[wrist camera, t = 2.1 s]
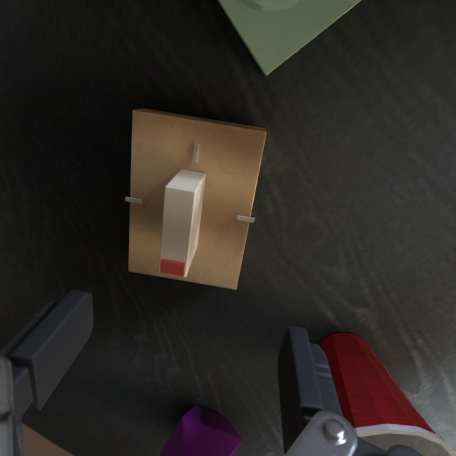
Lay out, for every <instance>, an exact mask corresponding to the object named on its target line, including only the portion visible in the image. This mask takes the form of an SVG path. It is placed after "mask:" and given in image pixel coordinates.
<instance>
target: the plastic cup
mask: <svg viewBox="0 0 456 456" xmlns="http://www.w3.org/2000/svg"><path fill="white" fill-rule="evenodd" d="M318 345H319V346H320V347H321V349H322V350H323V351H324V353H325V354H326V356H327V360H328V364H329V369H330V371H331V375H332V378H333V382H334V386H335V389H336V393H337V397H338V401H339V404H340V408H341V412H342V415H343V417H344V418H345V419H346V420H347V421H348V422H349V423H350V424H351V425H352V427H353V428H354V430H355V432H356V435H358V436H359V437H360V438H362V439H363V440H365V441H367V442H369V443H371V444H373V445H375V446H377V447H379V448H381V449H383V450H385V451H387V452H388V450H389V449H390V447H392V446H394V445H405V446H408V447H410V448H413V449H414V450H416V451H418V452H419V453H420V454H422V455H423V456H456V453H455V452H454V451H453V449H452V448H451V447H450V446H449V445H448V444H447V443H446V441H445V440H444V439H443V438H442V437H441V436H439V435H437V434H436V433H435V432H434V431H433V430H432V429H431V428H430V427H429V425H428V424H427V423H426V422H425V420H424V419H423V418H422V417H421V415H420V414H419V413H418V412H417V411H416V409H415V408H414V407H413V405H412V404H411V402H410V401H409V400H408V398H407V397H406V395H405V394H404V393H403V391H402V390H401V388H400V387H399V386H398V384H397V383H396V381H395V380H394V379H393V377H392V376H391V374H390V373H389V372H388V370H387V369H386V368H385V366H384V365H383V364H382V363H381V362H380V360H379V359H378V358H377V356H376V355H375V353H374V352H373V350H372V349H371V348H370V347H369V345H368V344H367V343H366V342H365V341H364V340H363V339H362V338H360V337H358V336H356V335H354V334H350V333H337V334H332V335H330V336H328V337H326V338H324V339H322V340H321V341H320V343H319V344H318Z"/></svg>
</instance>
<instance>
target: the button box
mask: <svg viewBox="0 0 456 456" xmlns="http://www.w3.org/2000/svg"><path fill="white" fill-rule="evenodd" d="M217 1H218V2H219V4H220V6H221V7H222V9H223V10H224V12H225V13H226V15H227V17H228V18H229V20H230V21H231V23H232V25H233V26H234V28H235V29H236V31H237V32H238V34H239V36H240V37H241V39H242V40H243V42H244V44H245V45H246V47H247V48H248V50H249V51H250V53H251V55H252V56H253V58H254V59H255V61H256V63H257V64H258V66H259V67H260V69H261V70H262V72H263V74H264V75H265V76H267V75H268V74H269V73H270V72H272V71H273V70H274V69H275V68H277V67H278V66H279V65H280V64H282V63H283V62H284V61H286V60H287V59H288V58H289V57H291V56H292V55H293V54H294V53H296V52H297V51H298V50H299V49H301V48H302V47H303V46H305V45H306V44H307V43H308V42H310V41H311V40H312V39H313V38H315V37H316V36H317V35H318V34H320V33H321V32H322V31H324V30H325V29H326V28H327V27H329V26H330V25H331V24H332V23H334V22H335V21H336V20H337V19H339V18H340V17H341V16H342V15H344V14H345V13H346V12H348V11H349V10H350V9H351V8H353V7H354V6H355V5H356V4H358V3H359V2H360V1H361V0H217Z"/></svg>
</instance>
